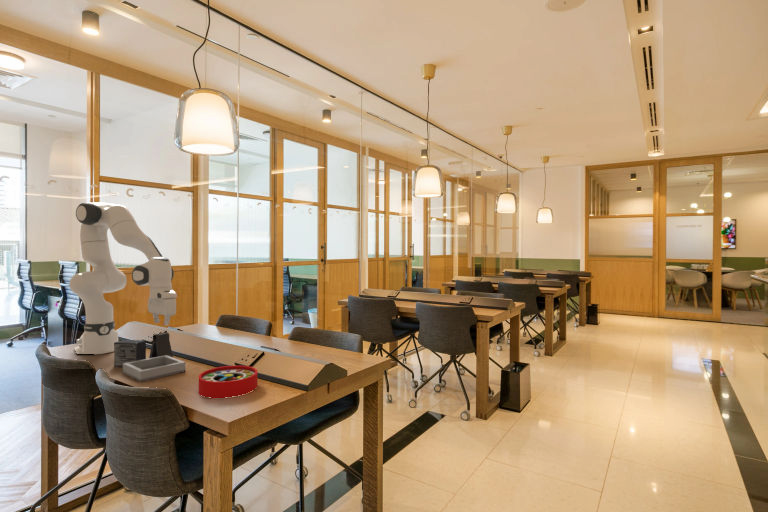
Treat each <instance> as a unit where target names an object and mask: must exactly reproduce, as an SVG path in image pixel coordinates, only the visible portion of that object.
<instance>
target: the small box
mask: <svg viewBox="0 0 768 512" xmlns="http://www.w3.org/2000/svg"><path fill="white" fill-rule="evenodd" d="M146 350H147V340H143V339H141V340H140V339H122V340H118V342H114V351H113V352H114V355H113V356H114V359H113V360H114V361H113V362H114V363H113V367H115V368H123V363H128V362H133V361H138V360H143V359H147V351H146Z"/></svg>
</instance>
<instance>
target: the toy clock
mask: <svg viewBox="0 0 768 512" xmlns="http://www.w3.org/2000/svg"><path fill="white" fill-rule="evenodd" d="M256 387H257V388H258V369H257V368H256V367H254V366H250V365H249V366H248V365H226V366H219V367H213V368H209V369H207V370H203V372H200V373H199V375H198V394H200V395H199V396H201V395H202V396H205V397H211V398H210V399H212V398H225V397H232V396H238V395H242V394H246V393H248V392H250V391H252V390H254V389H255V388H256ZM246 395H247V394H246ZM202 396H201V397H202ZM205 397H204V398H205Z"/></svg>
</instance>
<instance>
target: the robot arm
mask: <svg viewBox="0 0 768 512" xmlns="http://www.w3.org/2000/svg"><path fill="white" fill-rule="evenodd" d="M75 209H76V210H75V218H76V219H77V221H78V222H79V223H80V233H79V234H80V235H79V236H80V237H79V238H80V247H81V248H80V249H81V257H82V260H83V261H84V262H85V263H87V264H89V265H90V266H91V267H92V268H93V270H94V271H83V272H79V273H75V274H73V275H72V276H71V278H70V280H69V288H70V290H71V291H72V293H74V294H75V295H76V296H78V297H79V298H80V300H81V301H82V303H83V305H84V310H85V312H84V313H85V323H84V325H83V330H84V331H83V333H82V334H81V336H80V337H79V338H77V339H76V344H77V345H78V346H74V349H75V350H74V352H75V351H76V352H75V354H76V353H77V354H94V355H103V354H108V353H113V352H114V342H118V341H119V332H118V331H117V330H115V328H116V327H115V324H116V323H115V320H114V306H113V304H112V303H111V302H110V301H107V300H106V299H105V297H104V294H107V293H108V294H109V293H115V292H117V291H121V290H124V288H126V286H127V283H128V280H127V276H126V274H125V273H124V272H123V271H122V270H120V269H119V268H118V267H117V266H116V264H115V263H114V261H113V258H112V256H111V250H110V246H109V245H110V243H109V237H108V230H109V231H110V233H111V235H112V237H113V239H114V240H115V241H116V242H117V243H118V244H120V245H122V246H126V247H129V248H132V249H135V250H137V251H140V252H141V253H143V254H144V256H146V258H147V259H148V261H147V262H146V261H145V263H141V264H139V265H136V266H134V268H133V269H132V271H131V280H132V281H133V283H134V284H136V286H142V287H145V286H149V296H148V301H147V311H148V313H151V314H152V318H153V323H154V324H159V323H160V322H161V321H160V317H159V315H161V316H163V317H164V321H163V326H169V325H170V321H171V318H172V317H171V316H176V313H177V300H176V298H178V294H177V292H176V291H174V289H173V284H172V280H173V279H174V277H175V271H174V269H173V267H172V263H171V260H170V259H169V258H167V257H164V256H163V254H161V252H160V250H159V249H158V248H157V246H156V244H155V242H153V240H152V239H151V237H149V236H147V234H145V233H144V232H143V231H142V230H141V228H140V227H139V225H138V224H137V221H136V220H135V218H134V216H133V215H132V213H131V211H130V210H129V208H127V207H126V205H123V204H119V203H118V204H117V203H109V202H90V201H89V202H87V201H86V202H81V203H79V204H78V206H77V207H76V208H75Z"/></svg>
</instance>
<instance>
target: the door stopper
mask: <svg viewBox="0 0 768 512" xmlns="http://www.w3.org/2000/svg"><path fill="white" fill-rule="evenodd" d="M149 352H150V353H149V357H148V359H149V358H154V357H159V356H164V355H167V356H170V357H173V358H174V355H173V351H172V345H171V342H170V333H169V332H162V333H156V334H153V335H152V343H151V347H150V351H149Z"/></svg>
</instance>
